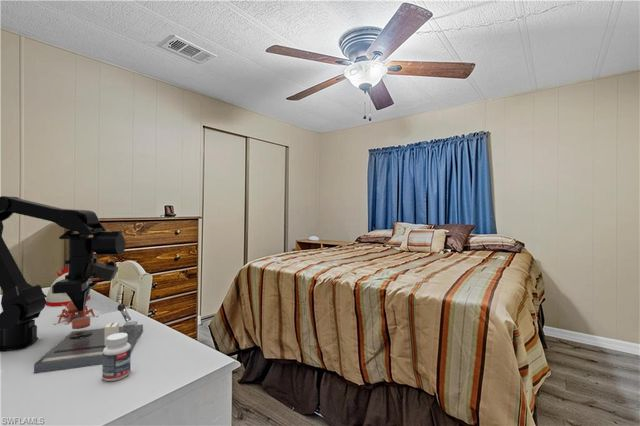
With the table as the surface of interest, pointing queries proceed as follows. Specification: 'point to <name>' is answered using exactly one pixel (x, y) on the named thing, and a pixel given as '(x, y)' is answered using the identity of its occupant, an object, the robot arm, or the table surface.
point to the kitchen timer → (59, 298)
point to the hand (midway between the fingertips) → (81, 310)
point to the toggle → (124, 312)
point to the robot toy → (73, 310)
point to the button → (80, 322)
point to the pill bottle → (116, 357)
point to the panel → (83, 348)
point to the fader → (111, 330)
